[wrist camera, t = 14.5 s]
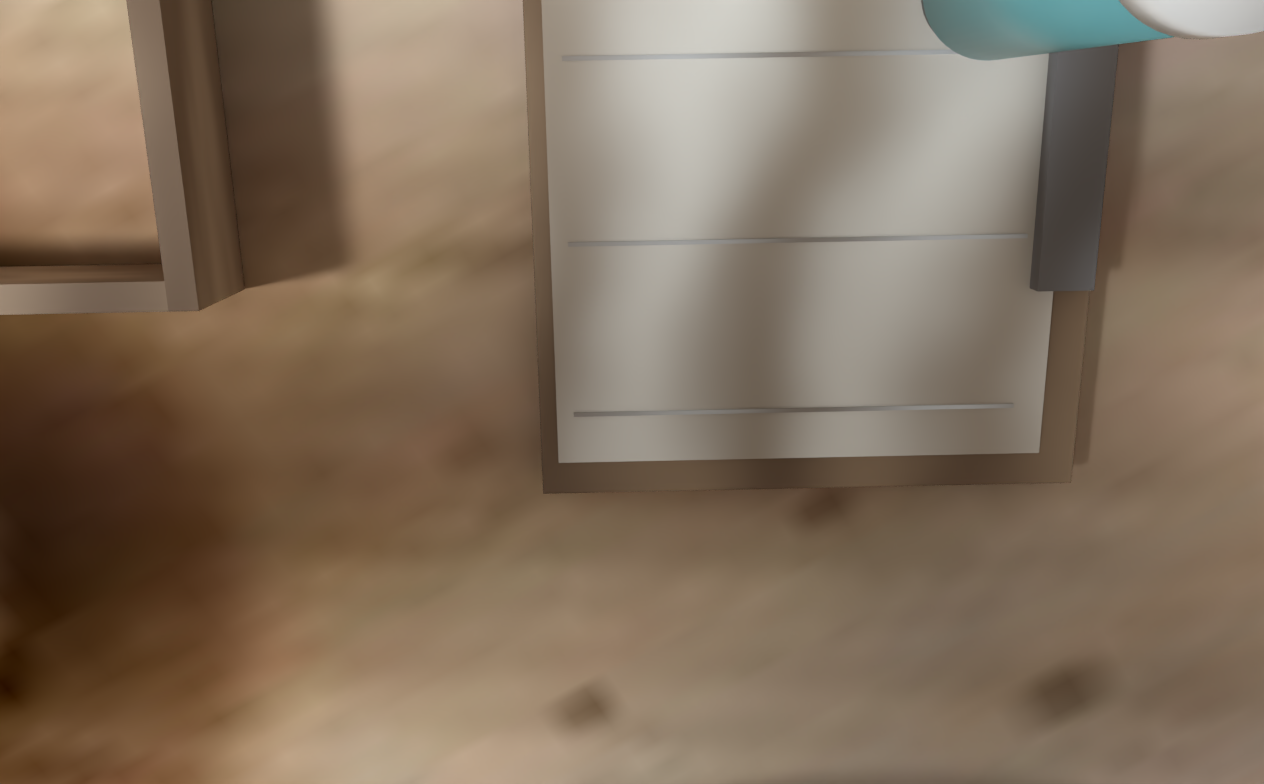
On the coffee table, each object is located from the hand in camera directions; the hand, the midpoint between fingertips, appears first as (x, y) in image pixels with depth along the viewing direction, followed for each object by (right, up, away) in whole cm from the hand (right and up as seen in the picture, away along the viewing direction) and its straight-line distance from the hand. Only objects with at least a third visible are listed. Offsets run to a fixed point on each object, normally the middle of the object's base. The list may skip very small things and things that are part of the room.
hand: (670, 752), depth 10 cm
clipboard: (+5, +11, +20) cm, 23 cm away
